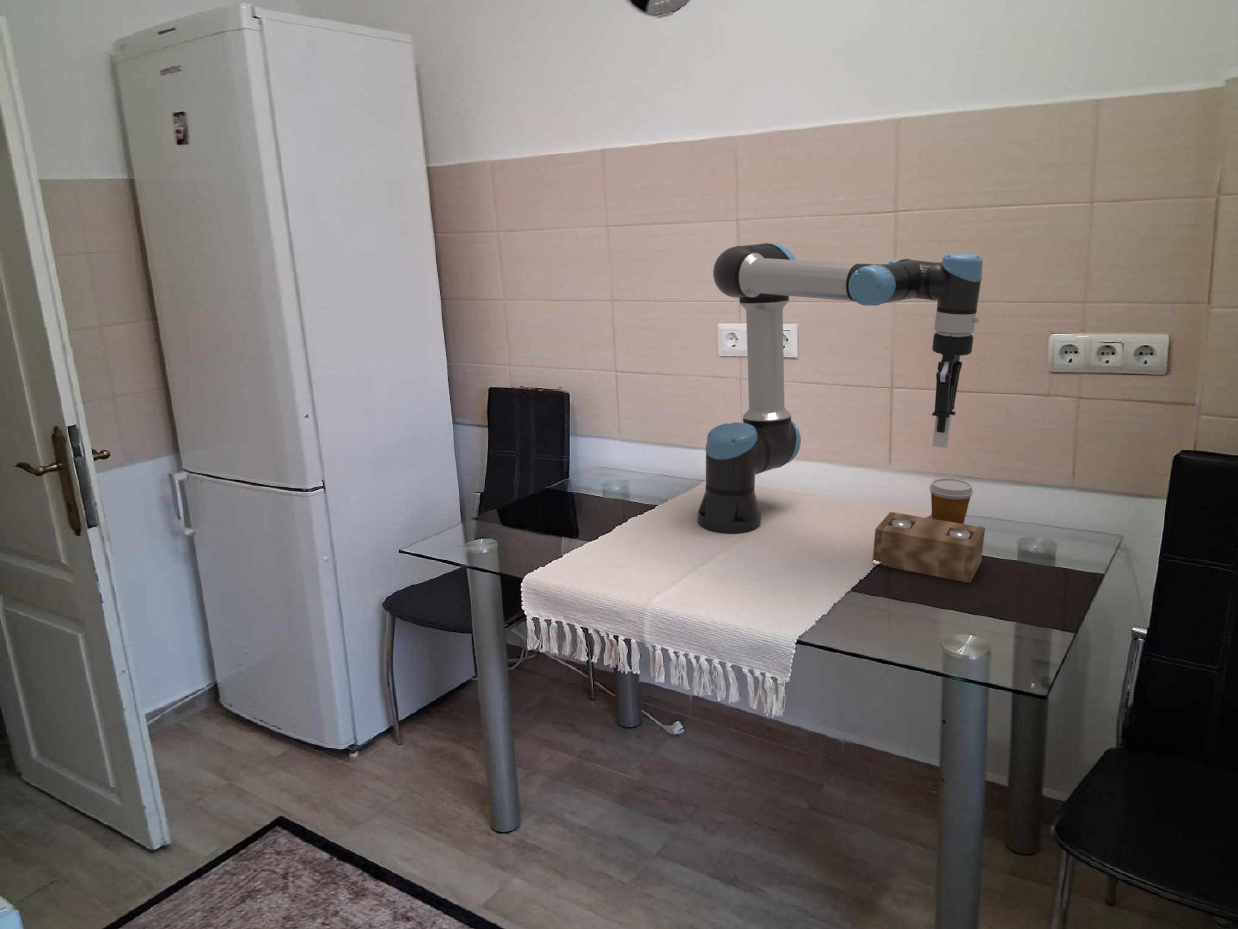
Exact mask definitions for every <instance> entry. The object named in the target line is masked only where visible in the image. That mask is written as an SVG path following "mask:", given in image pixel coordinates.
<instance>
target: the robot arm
mask: <svg viewBox="0 0 1238 929" xmlns="http://www.w3.org/2000/svg"><path fill="white" fill-rule="evenodd" d="M712 271H713V274H712V275H713V281H714V283H715V285H716V287H717V289H718V290H719V291H720V292H721V293H722V294H724V295H726V296H728V297H731V298H734V299H735V298H739V305H740V307H742V308H743V309H744V310H745V311H746V314H745V315H746V317H745V318H746V345H747V346H746V350H747V380H748V381H747V382H748V383H747V384H748V409H747V411H746V412H744V414H743V415H742V422H732V423H728V422H727V423H722V424H719V425H717V426H714V427H713V428H711V429H710V431H709V432H708V434H707V436H706V445H705V492H704V494H703V498H702V500H701V503H700V505H699V509H698V511H697V523H698V525H700V527H702V528H704V529H706V530H709V531H713V532H718V533H728V534H738V533H745V532H746V533H747V532H751V531H754V530H756V529H757V528H759V527H760V526H761V524H762V521H761V520H762V513H761V510H760V507H759V504H758V503H759V502H758V499H757V497H756V496H757V495H756V494H755V492H756V491H755V486H756V485H755V484H756V475H759V474H762V473H765V472H767V471H770V470H774V469H778V468H782V467H783V466H785V465H786V464H789V463H791V462H792V461H793V460H794V459H795V458H796V456H797V455H798V453H799V451H800V449H801V443H802V439H801V438H802V437H801V436H802V435H801V432H800V429H799V428H797V426H796V423H795V422H794V421H793V420H792V414H791V413H790V411H788V409H786V407H785V369H784V368H785V366H784V365H785V364H784V360H785V359H784V315H783V314H784V313H783V312H784V311H783V310H784V307H785V306H786V305H787V304H788V303H789V302H790V297H798V298H799V297H800V298H809V299H810V298H811V299H820V300H821V299H823V300H834V301H844V302H845V301H846V302H854V303H855V302H856V303H857V304H859V305H861V306H865V307H866V306H867V307H868V306H869V307H870V306H875V307H876V306H879V305H883V304H887V303H888V304H889V303H892V302H899V301H904V300H910V299H919V300H929V301H937V303H936V313H935V318H934V319H935V320H934V328H933V330H935V331H936V332H935V333H934V334H933V339H932V347H931V348H932V349H931V350H932V351H933V352H934V353H936V354H941V355H942V358H941V360H940V361H939V362H938V364H937V372H936V374H935V378H936V380H935V381H936V385H935V386H936V387H935V400H934V401H935V402H934V411H933V412H932V414H931V416H932V417H933V416H934V417H935V421H934V429H933V438H932V445H931V446H932V447H938V448H944V449H947V447H948V444H949V436H950V428H951V420H952V416H956V413H957V412H956V411H954V409H955V405H956V404H955V403H956V397H957V392H958V388H959V386H958V385H959V380H960V375H961V370H962V366H963V362H962V361H960V359H961V356H968V355H971V353H972V352H973V346H974V345H973V344H974V336H973V333H974V332H975V325H976V324H977V323H980V322H979V321H980V320H979V318H978V317H976V316H977V312H978V304H979V296H980V289H981V282H982V280H983V276H982V275H983V258H982V257H981V256H980V255H979V254H975V253H962V252H961V253H960V252H958V253H957V252H951V253H946V254H944V255H943V257H942V261H941V262H934V261H926V260H925V261H924V260H916V259H910V258H893V259H891V260H890V261H888V263H881V264H879V263H876V264H873V263H854V262H835V261H820V260H819V261H818V260H803V259H796V257H795V254H794V253H792V251H790V249H789V248H788V247H787V246H785V245H782V244H779V243H771V242H769V243H768V242H765V243H757V244H749V245H748V244H747V245H746V244H745V245H736V246H735V245H734V246H732V247H729V248H727V249H725V250H724V251H723V252H722V253H720V255H719V256H718V257H717V258H716V261H715V262H714V266H713V270H712Z"/></svg>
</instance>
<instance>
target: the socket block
mask: <svg viewBox="0 0 1238 929" xmlns="http://www.w3.org/2000/svg"><path fill="white" fill-rule="evenodd" d="M896 519H903V520H907V521H910V522H911V529H906V528H901V527H895V526H892V521H893V520H896ZM953 529H961V530H966V531H968V532H969V533H970V539H963V538H958V537H952V536H949V534H950V530H953ZM985 532H986V527H982V526H977V525H972V524H971V525H970V524H965V523H964V524H960V523H954V522H948V521H942V520H936V519H932V518H930V517H923V516H917V515H911V514H904V513H901V512H900V513H899V512H893V511H889V513H888V514H887V515H886V516H885V517H884V518H883V519H882V521H880V523H879V524H878V525H877V527H876V528H875V529H874V542H873V554H872V555H873V556H872V561H873V560H876V561H879V562H881V563H882V564H885V565H887V566H888V568H891V569H892V568H893V569H897V570H902V571H907V572H911V573H912V572H913V573H917V574H922V575H927V576H933V577H937V578H942V579H948V580H951V581H957V582H962V583H968V584H971V583H972V580H973V579H974V577H975V575H976V573H977V571H978V569H979V567H980V565H981V563H982V556H983V547H984V540H985Z"/></svg>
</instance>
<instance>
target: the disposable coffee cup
mask: <svg viewBox="0 0 1238 929" xmlns="http://www.w3.org/2000/svg"><path fill="white" fill-rule="evenodd" d="M928 487H929V492H930V500H931V503H930V504H931V519H936V520H942V521H948V522H954V523H960V524H965V520H966V515H967V512H968V509H969V504H970V500H971V497H972V495H974V489H973V486H972V484H971V483H970V482H967V481H965V480H962V479H957V478H947V477H946V478H937V479H933V480H932V482H931V484H930V485H929V486H928Z"/></svg>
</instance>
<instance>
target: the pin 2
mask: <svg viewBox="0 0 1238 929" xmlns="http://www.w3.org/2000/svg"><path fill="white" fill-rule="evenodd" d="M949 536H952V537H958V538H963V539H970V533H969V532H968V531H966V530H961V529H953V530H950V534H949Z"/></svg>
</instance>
